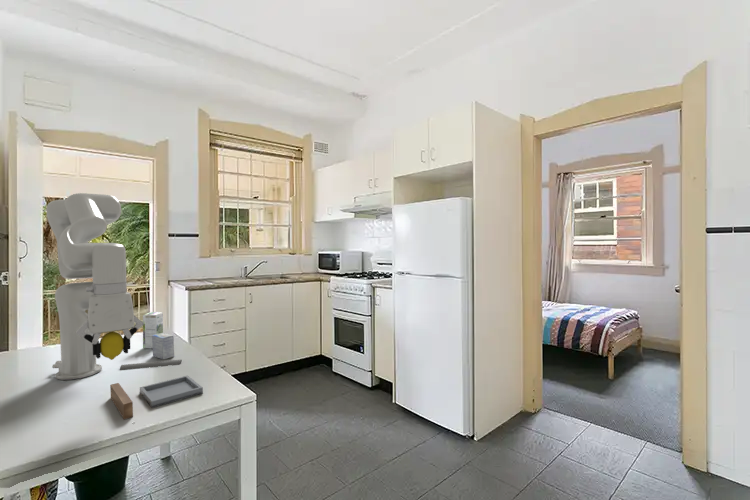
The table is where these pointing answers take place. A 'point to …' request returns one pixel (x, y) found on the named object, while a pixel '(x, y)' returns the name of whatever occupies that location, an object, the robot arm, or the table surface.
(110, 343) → the lemon
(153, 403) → the gray tray
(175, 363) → the half round rod
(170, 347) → the medicine box
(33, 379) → the table surface
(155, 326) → the syrup box
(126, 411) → the walnut wall
